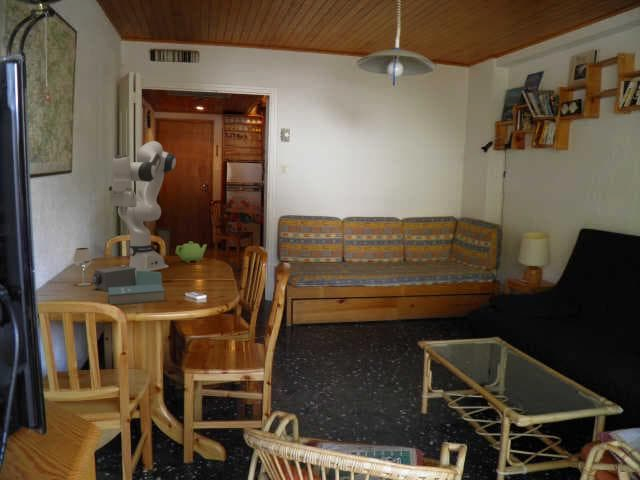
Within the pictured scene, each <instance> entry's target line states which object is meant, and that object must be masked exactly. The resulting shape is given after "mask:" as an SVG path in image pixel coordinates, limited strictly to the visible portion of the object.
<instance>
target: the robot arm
mask: <svg viewBox="0 0 640 480" xmlns="http://www.w3.org/2000/svg"><path fill="white" fill-rule="evenodd" d="M136 160H137V161H136V162H134V161H131V158H130V156H129V155H127V154H118V155H115V156H113V158H112V164H111V165H112V166H111V167H112V168H111V169H112V176H113V179H112V184H111V185H109V186H108V188H107V189H108V192H109V193H108V194H109V197H108V198H109V204H110V206H113V207H118V208H117V214H118V216H119V217H120V219H122V220H123V222H125V224H126V227H127V228H128V232H129V240H130V244H129V256H130V257H129V258H130V259H129V265H128V266H130V267H134V268H136V270H139V271H150V272H155V271H157V270H163V269H168V268H169V265H168V264H166V263H165V260H164V257H163V256H162V255H161V254H160V253H158V252H156V251H155V250H156V249H157V248H158V246H157V245H155V244H152V243H151V242H152V240H151V239H152V238H151V237H152V236H151V231H150V230H149V228H147V227H146V226H145V224H144V223H143V222H154V221H157V220H159V219H160V217H161V216H162V209H161V206H160V205H159V203H158V202H157V199H158V196H159V192H160V191H161V188H162V185H163V182H164V178H165V175H168V174H169V173H170V172H171V171H173V170H174V169H175V167H176V165H177V157H176V156H175V155H174V154H173V153H170V152H167V151H164V148H163V145H162V144H161V143H160V142H158V141H157V140H156V141H155V140H152V141H148V142H146V143H145V144H143V145H142V146H141V147H139V148H138V150H137V151H136ZM132 182H140V184H139V186H138V189H137V193H138V195H139V197H140V198H141V200H140V201H137V195H136V193H135V190H134V189H133V185H132V184H133V183H132ZM154 249H155V250H154Z"/></svg>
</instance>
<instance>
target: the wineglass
mask: <svg viewBox="0 0 640 480" xmlns="http://www.w3.org/2000/svg"><path fill="white" fill-rule="evenodd" d="M73 256H74V257H73V264H75V266H77V267H78V268H79V269H81V272H82V282H79V283H76V285H77V286H78V287H79V286H80V287H84V286H86V287H87V286H90V285H92V283H91V282H86V279H85V270H86V268H88V266H90V265H91V263H92V261H93V258H92V255H91V252H90V248H88V247H80V248H79V247H78V248H75V251H74V255H73Z"/></svg>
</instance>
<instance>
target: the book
mask: <svg viewBox="0 0 640 480" xmlns="http://www.w3.org/2000/svg"><path fill="white" fill-rule="evenodd" d="M107 292H108V293H107V294H108V303H109V302H110V303H109V304H116V305H115V306H119V305H130V304H141V303H143V304H144V303H153V302H154V303H155V302H165V301H166V300H165V289H164V286H163V285H161V284H151V285H137V286H122V287H108V291H107ZM109 304H108V305H109Z"/></svg>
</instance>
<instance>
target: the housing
mask: <svg viewBox="0 0 640 480" xmlns="http://www.w3.org/2000/svg"><path fill="white" fill-rule="evenodd" d="M135 270H136V268H134V267H130V266H129V265H125V264H123V265H119V266H113V267H106V268H98V269H94V273H93V274H92V281H93V285H94V286H95V289H96V290H101V291H102V292H103V291H104V292H108V287H122V286H136V285H135Z"/></svg>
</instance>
